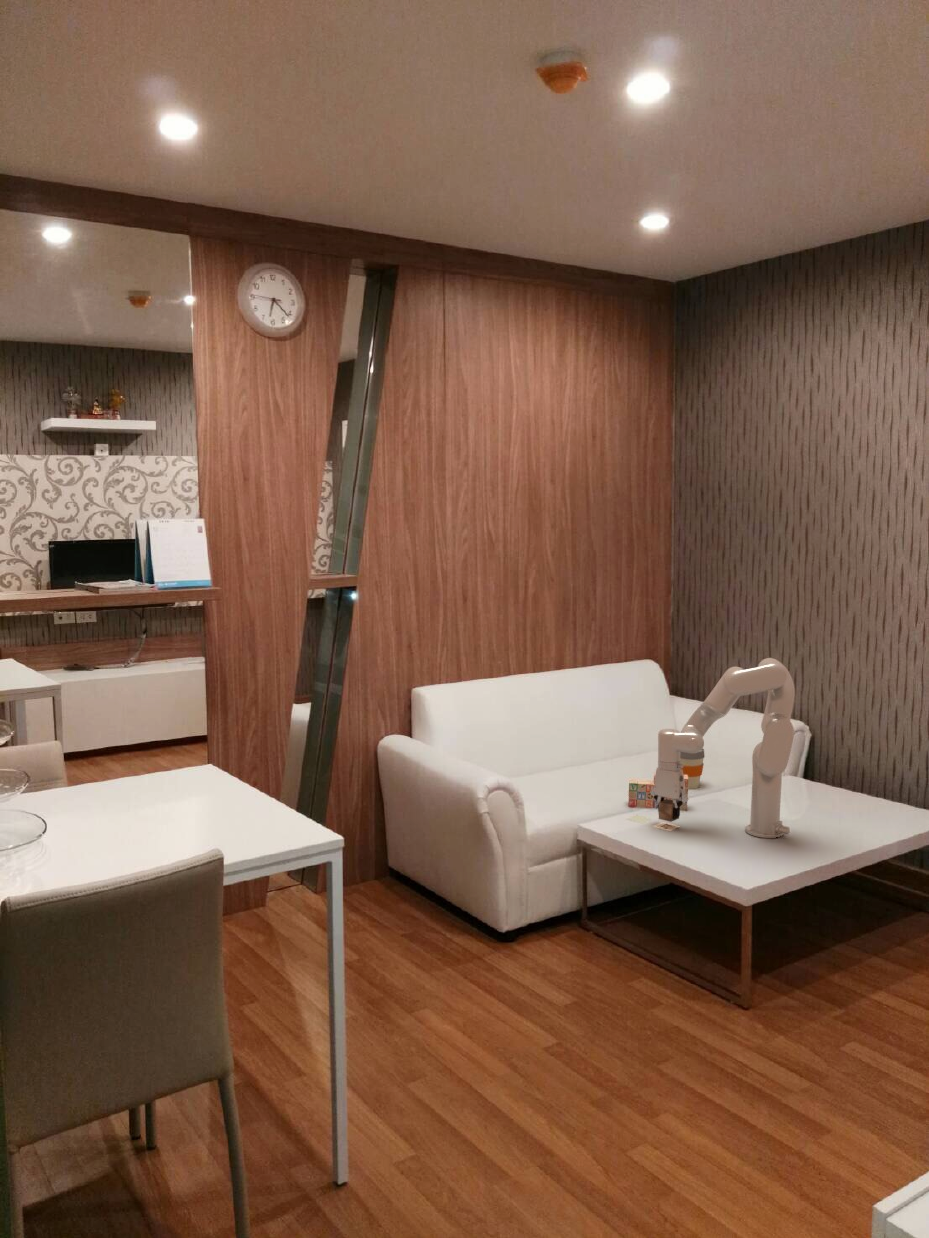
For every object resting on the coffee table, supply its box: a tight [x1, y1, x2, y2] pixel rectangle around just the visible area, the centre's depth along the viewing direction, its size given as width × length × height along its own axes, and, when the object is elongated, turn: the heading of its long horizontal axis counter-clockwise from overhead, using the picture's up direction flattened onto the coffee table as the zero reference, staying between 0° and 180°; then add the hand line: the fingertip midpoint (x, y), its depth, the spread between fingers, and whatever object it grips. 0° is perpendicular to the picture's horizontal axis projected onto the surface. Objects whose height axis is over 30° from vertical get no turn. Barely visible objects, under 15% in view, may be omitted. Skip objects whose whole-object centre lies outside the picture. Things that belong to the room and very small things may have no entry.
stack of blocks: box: [627, 771, 689, 812], centre depth 373 cm, size 21×6×12 cm, turn 79°
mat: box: [626, 814, 681, 832], centre depth 354 cm, size 21×16×1 cm
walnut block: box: [658, 799, 680, 823], centre depth 349 cm, size 5×5×6 cm
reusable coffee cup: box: [680, 748, 705, 790], centre depth 400 cm, size 13×13×15 cm
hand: (668, 815), depth 350 cm, fingers closed on walnut block, 5 cm apart
